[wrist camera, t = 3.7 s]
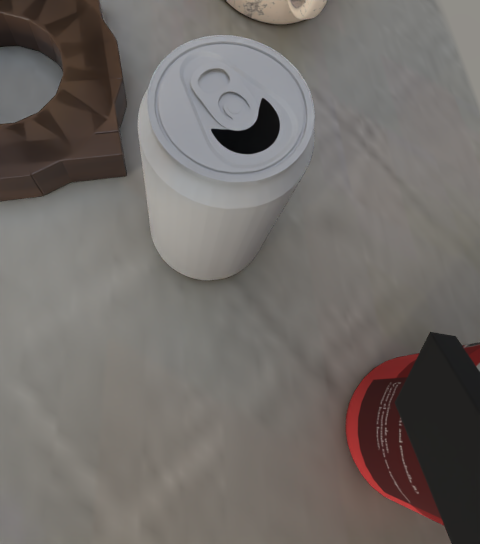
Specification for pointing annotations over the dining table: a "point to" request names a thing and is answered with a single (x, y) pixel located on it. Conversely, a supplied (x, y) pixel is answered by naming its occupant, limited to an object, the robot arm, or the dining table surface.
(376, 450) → the canned food
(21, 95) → the dining table surface
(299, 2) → the teacup with lid
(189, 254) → the beverage can
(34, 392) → the dining table surface
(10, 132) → the socket pad
